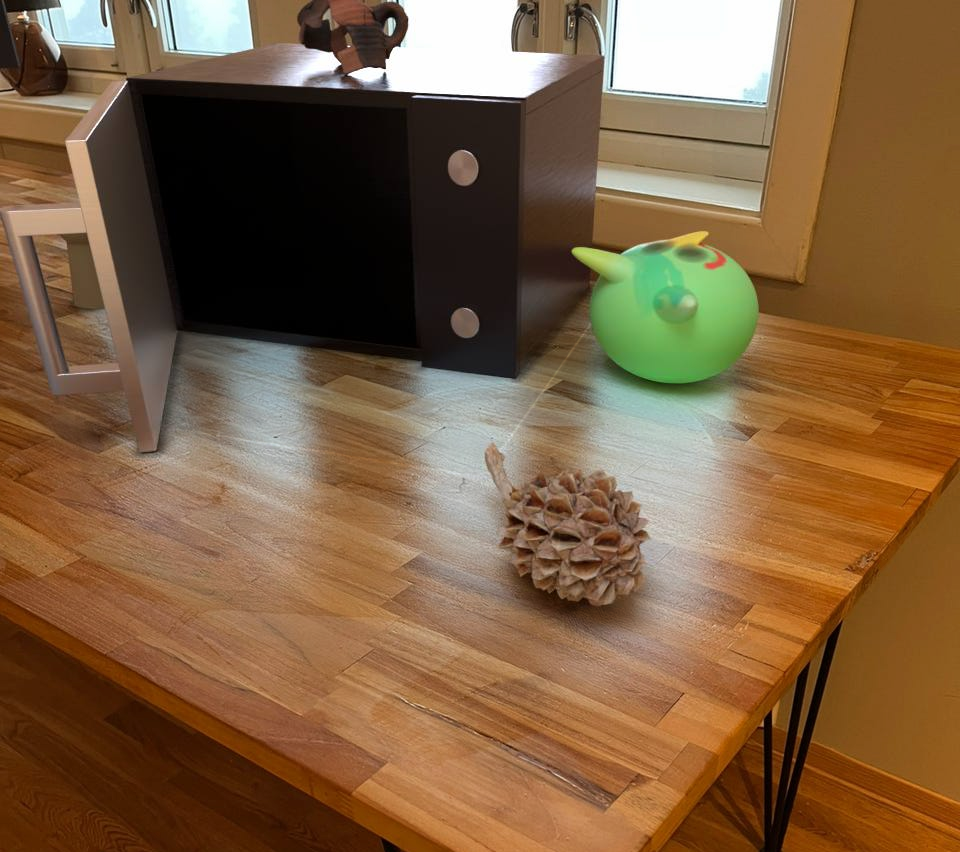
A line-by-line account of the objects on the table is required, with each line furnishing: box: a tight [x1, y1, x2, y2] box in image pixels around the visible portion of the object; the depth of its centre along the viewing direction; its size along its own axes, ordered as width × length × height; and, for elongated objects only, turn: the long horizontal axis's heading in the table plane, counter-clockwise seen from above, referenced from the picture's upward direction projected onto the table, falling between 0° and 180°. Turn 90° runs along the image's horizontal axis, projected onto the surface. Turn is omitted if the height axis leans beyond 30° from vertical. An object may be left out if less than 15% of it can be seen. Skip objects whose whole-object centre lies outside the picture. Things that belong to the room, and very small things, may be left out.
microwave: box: [125, 42, 605, 379], centre depth 115 cm, size 35×44×27 cm
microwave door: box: [0, 80, 178, 453], centre depth 96 cm, size 9×33×27 cm, turn 11°
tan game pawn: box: [59, 233, 105, 309], centre depth 123 cm, size 6×6×11 cm
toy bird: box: [572, 230, 760, 384], centre depth 102 cm, size 18×17×15 cm
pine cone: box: [484, 441, 652, 607], centre depth 73 cm, size 22×10×10 cm, turn 30°
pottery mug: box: [296, 0, 409, 75], centre depth 105 cm, size 12×10×8 cm
